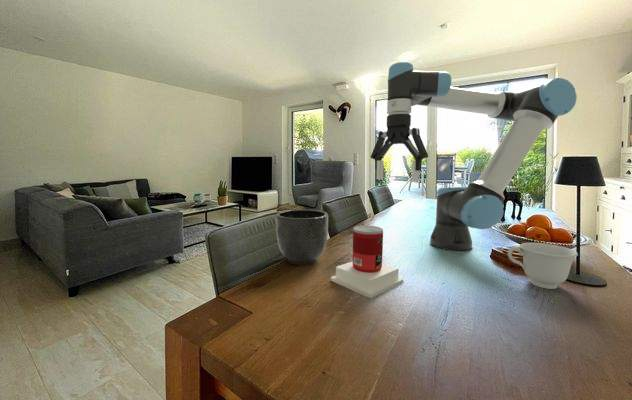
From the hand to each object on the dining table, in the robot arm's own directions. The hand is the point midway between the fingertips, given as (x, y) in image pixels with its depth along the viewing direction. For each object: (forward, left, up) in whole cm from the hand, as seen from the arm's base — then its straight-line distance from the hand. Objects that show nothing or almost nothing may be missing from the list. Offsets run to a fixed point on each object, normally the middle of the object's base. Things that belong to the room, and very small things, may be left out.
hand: (396, 180), depth 95 cm
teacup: (-11, +38, -27) cm, 48 cm away
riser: (+23, +7, -27) cm, 36 cm away
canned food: (+23, +7, -23) cm, 33 cm away
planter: (+26, -18, -27) cm, 42 cm away
